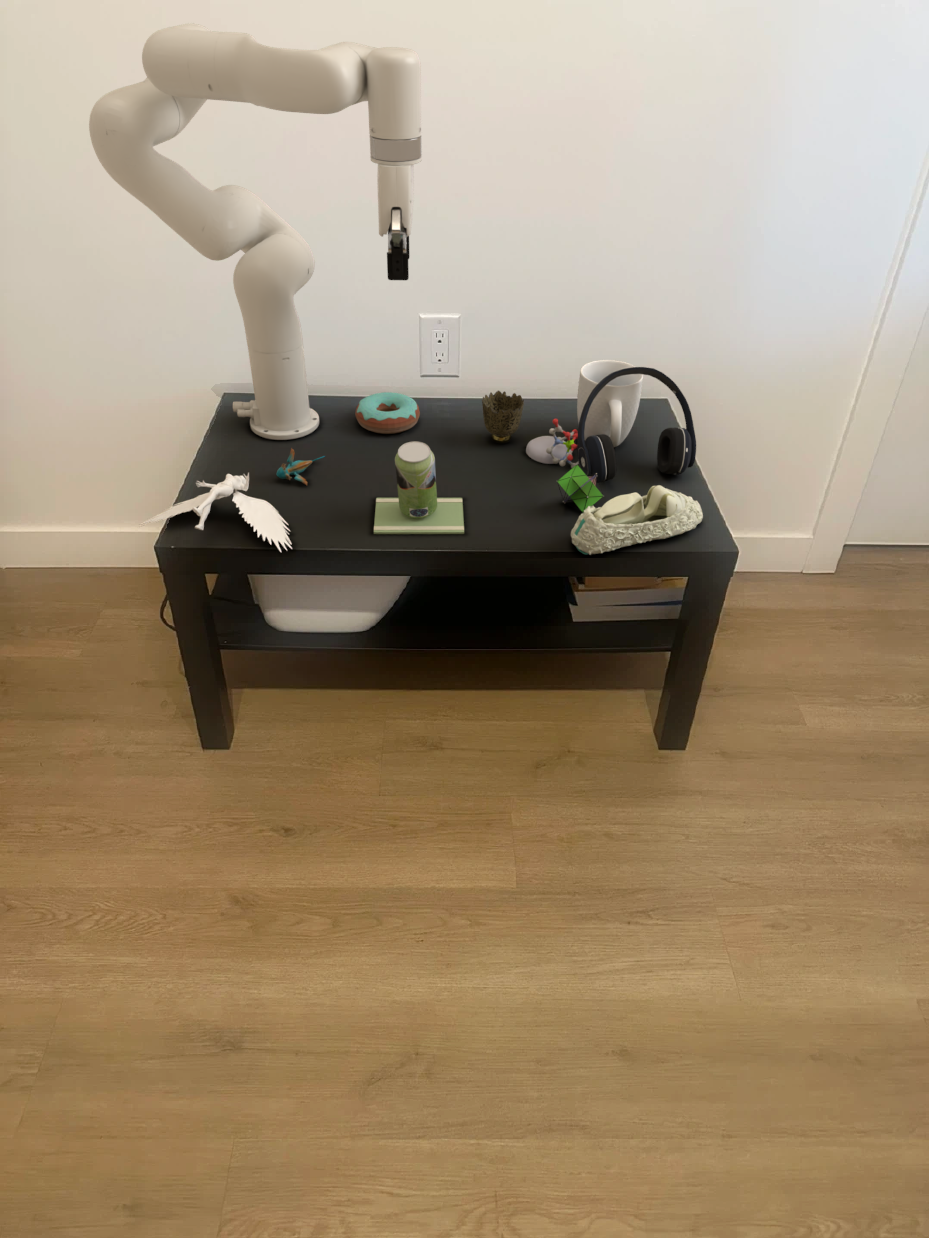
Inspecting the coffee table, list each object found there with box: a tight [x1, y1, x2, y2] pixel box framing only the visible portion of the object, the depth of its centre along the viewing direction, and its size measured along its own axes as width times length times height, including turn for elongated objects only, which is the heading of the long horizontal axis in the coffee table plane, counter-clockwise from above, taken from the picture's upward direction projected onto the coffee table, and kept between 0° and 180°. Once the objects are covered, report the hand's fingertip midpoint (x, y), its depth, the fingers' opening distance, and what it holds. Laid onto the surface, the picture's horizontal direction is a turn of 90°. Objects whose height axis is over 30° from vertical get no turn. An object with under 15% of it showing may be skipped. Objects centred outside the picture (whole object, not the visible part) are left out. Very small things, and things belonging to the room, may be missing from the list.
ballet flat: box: [570, 484, 704, 556], centre depth 133 cm, size 9×24×8 cm, turn 120°
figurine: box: [137, 472, 293, 553], centre depth 132 cm, size 12×25×14 cm
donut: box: [355, 391, 421, 435], centre depth 161 cm, size 12×12×4 cm
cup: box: [481, 390, 525, 445], centre depth 155 cm, size 8×7×8 cm
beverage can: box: [394, 440, 438, 518], centre depth 134 cm, size 6×7×12 cm
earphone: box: [576, 366, 697, 484], centre depth 146 cm, size 20×7×18 cm
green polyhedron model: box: [556, 464, 605, 514], centre depth 139 cm, size 7×7×8 cm
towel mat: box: [373, 497, 465, 535], centre depth 138 cm, size 14×10×1 cm
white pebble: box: [525, 435, 571, 465], centre depth 154 cm, size 8×8×2 cm
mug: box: [576, 359, 644, 448], centre depth 153 cm, size 15×11×13 cm
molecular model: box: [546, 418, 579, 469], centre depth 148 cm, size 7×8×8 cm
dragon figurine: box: [275, 447, 326, 486], centre depth 147 cm, size 6×7×8 cm
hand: (398, 269), depth 138 cm, fingers open, 9 cm apart
